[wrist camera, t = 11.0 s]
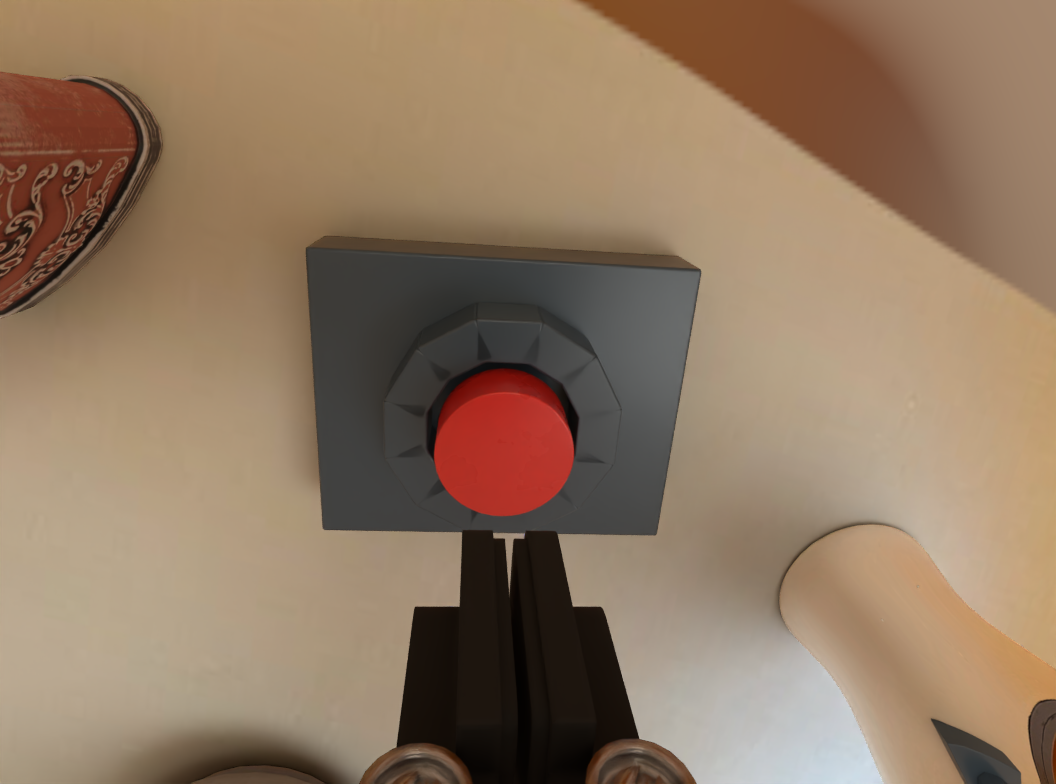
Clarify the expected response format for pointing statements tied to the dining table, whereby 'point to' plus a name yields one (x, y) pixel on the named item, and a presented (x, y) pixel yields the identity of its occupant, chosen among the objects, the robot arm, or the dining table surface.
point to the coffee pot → (259, 776)
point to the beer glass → (920, 664)
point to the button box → (484, 344)
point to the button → (503, 443)
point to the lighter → (65, 177)
